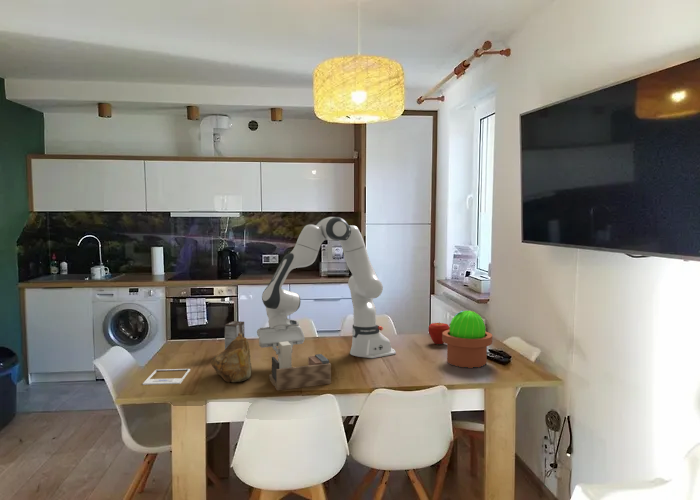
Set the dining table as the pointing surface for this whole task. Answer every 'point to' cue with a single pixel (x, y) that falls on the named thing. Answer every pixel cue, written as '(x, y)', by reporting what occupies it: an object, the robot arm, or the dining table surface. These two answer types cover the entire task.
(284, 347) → the white rectangular block
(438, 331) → the apple
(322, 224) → the robot arm
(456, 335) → the potted cactus
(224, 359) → the rough brown rock
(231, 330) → the coffee box
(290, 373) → the shelf
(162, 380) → the photo frame
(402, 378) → the dining table surface
